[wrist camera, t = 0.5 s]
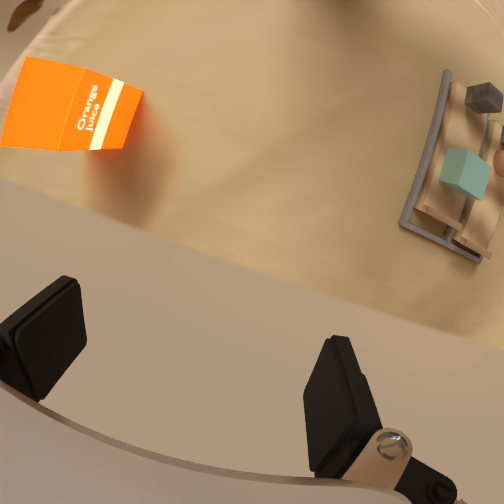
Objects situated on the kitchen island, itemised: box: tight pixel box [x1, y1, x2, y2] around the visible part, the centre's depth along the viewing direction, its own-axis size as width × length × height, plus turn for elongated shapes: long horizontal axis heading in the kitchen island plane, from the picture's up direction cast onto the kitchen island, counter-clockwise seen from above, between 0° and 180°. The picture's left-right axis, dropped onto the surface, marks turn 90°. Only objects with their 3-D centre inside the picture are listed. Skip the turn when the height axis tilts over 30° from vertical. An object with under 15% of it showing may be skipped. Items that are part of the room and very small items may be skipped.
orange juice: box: [0, 56, 143, 152], centre depth 25 cm, size 8×9×20 cm
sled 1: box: [414, 80, 503, 231], centre depth 29 cm, size 21×7×8 cm, turn 162°
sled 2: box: [452, 120, 504, 260], centre depth 30 cm, size 21×7×8 cm, turn 162°
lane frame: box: [398, 69, 489, 264], centre depth 33 cm, size 26×18×1 cm
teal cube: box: [438, 148, 492, 201], centre depth 29 cm, size 5×5×5 cm
